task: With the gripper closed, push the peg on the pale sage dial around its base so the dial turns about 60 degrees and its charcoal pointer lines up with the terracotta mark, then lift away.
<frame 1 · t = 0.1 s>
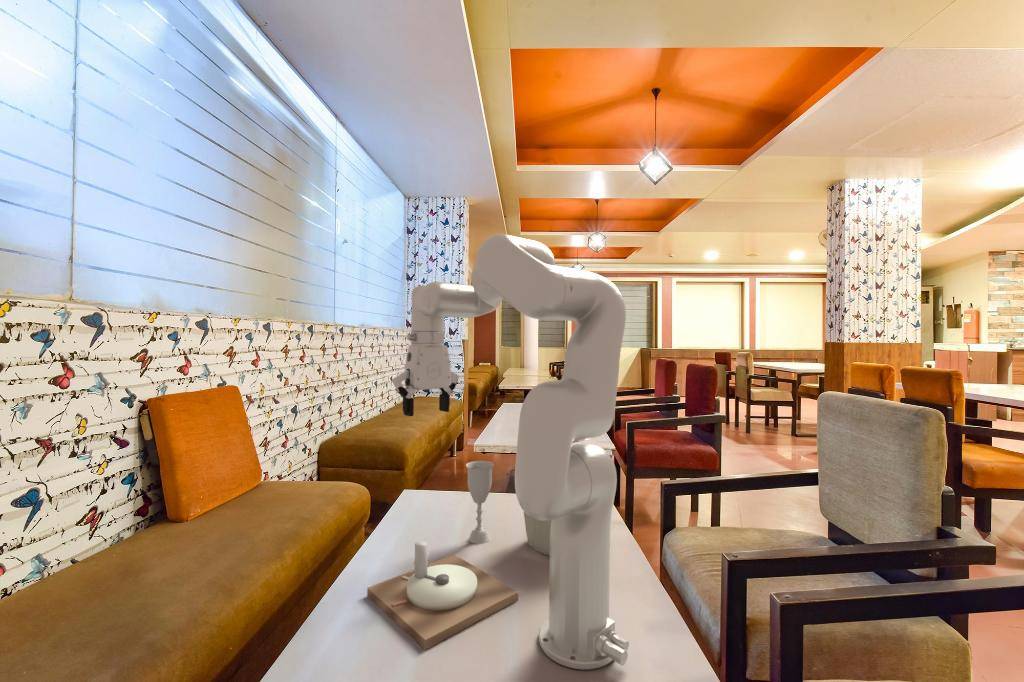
hand: (426, 413, 105), 31 cm above the table, tool pointing down, fingers open, 9 cm apart
dial: (442, 569, 85), point 5 cm above the table, hinge at 0.0°
chalice: (479, 539, 110), on the table
dial base: (442, 597, 85), on the table
canister: (555, 547, 107), on the table
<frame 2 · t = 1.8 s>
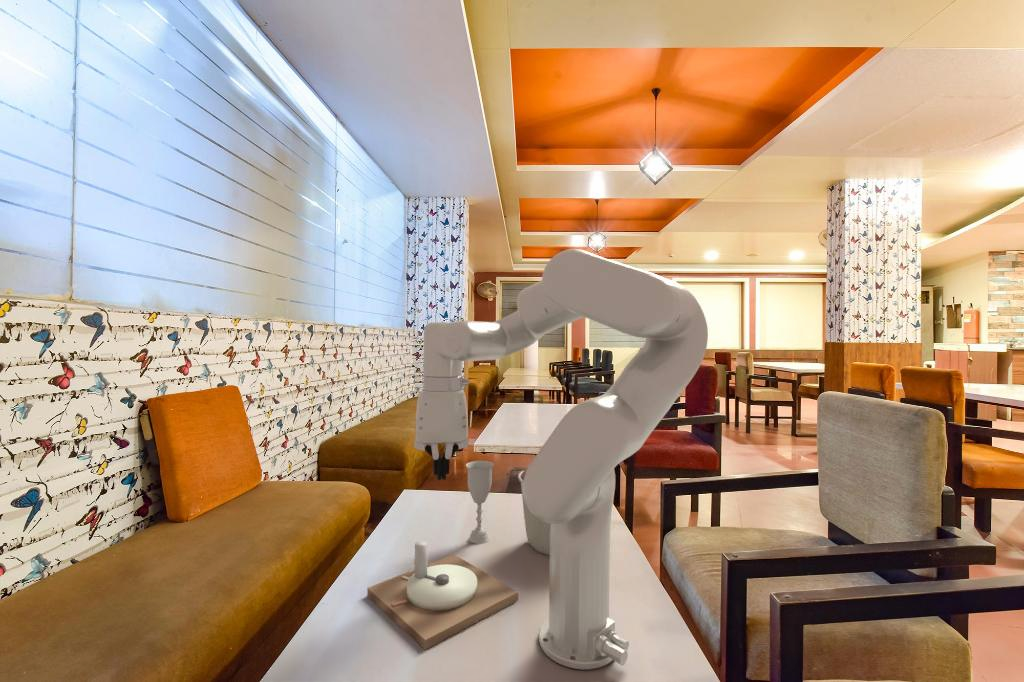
hand: (441, 477, 90), 21 cm above the table, tool pointing down, fingers closed
nothing on the table moved.
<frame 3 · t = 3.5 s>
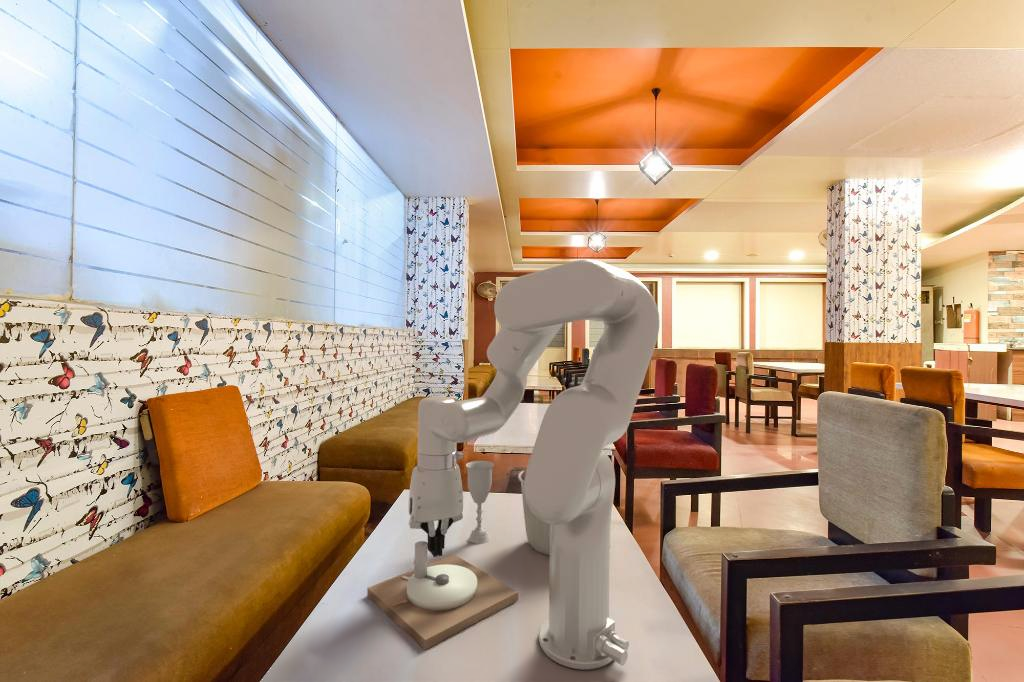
hand: (435, 553, 89), 6 cm above the table, tool pointing down, fingers closed
dial: (442, 569, 85), point 5 cm above the table, hinge at 0.3°, touching gripper
everything else where it was.
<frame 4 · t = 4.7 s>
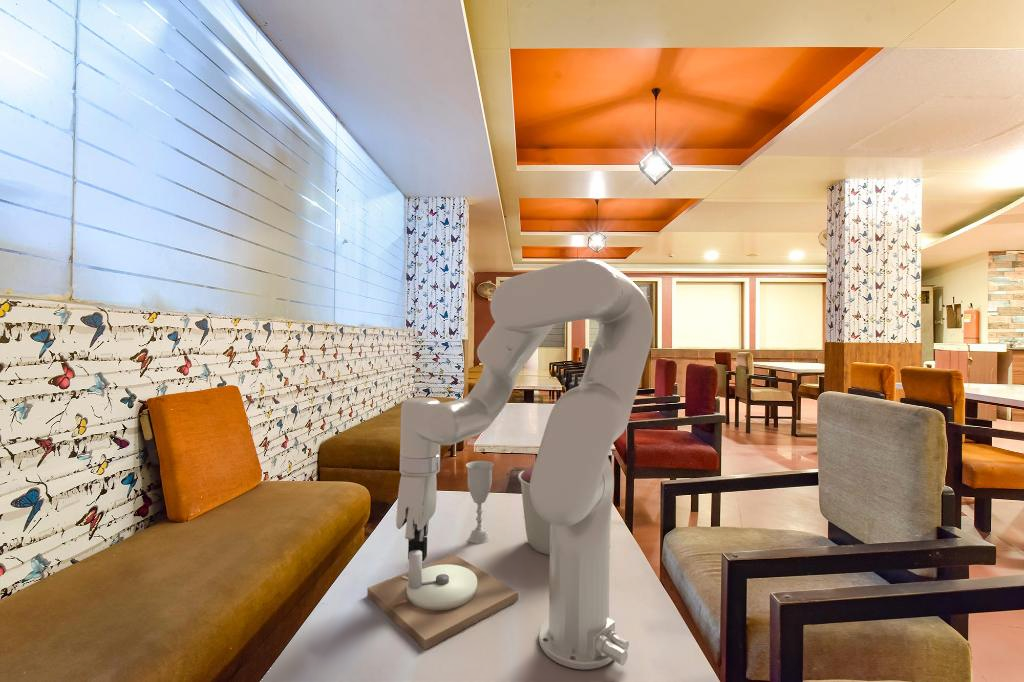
hand: (417, 558, 87), 6 cm above the table, tool pointing down, fingers closed
dial: (442, 569, 85), point 5 cm above the table, hinge at 44.0°, touching gripper
everything else where it was.
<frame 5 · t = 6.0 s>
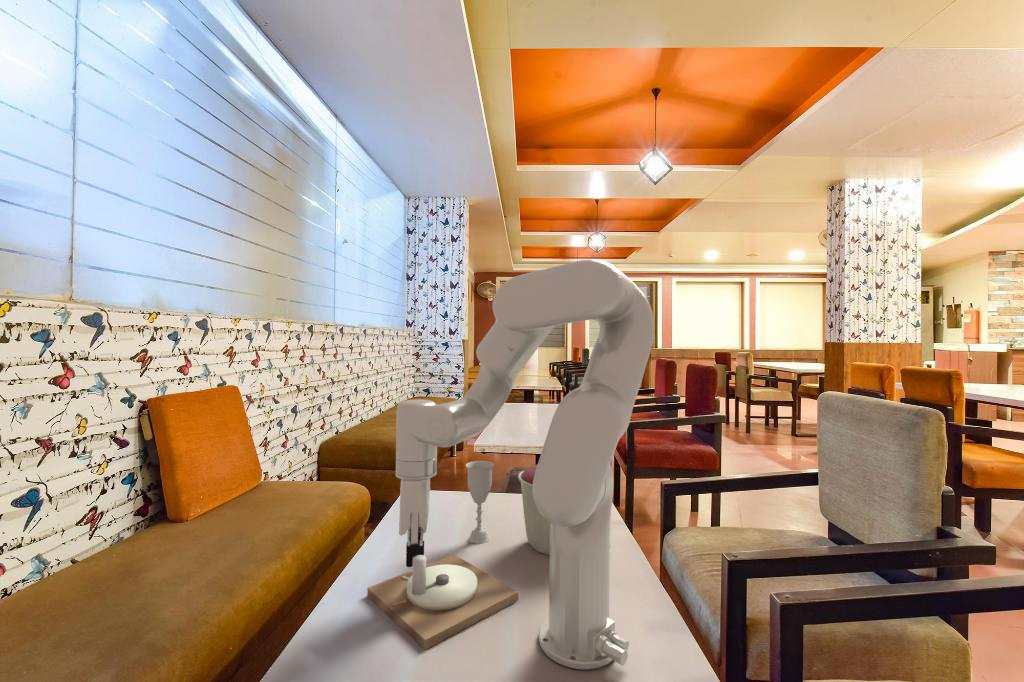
hand: (415, 564, 85), 6 cm above the table, tool pointing down, fingers closed
dial: (442, 569, 85), point 5 cm above the table, hinge at 69.7°
everything else where it was.
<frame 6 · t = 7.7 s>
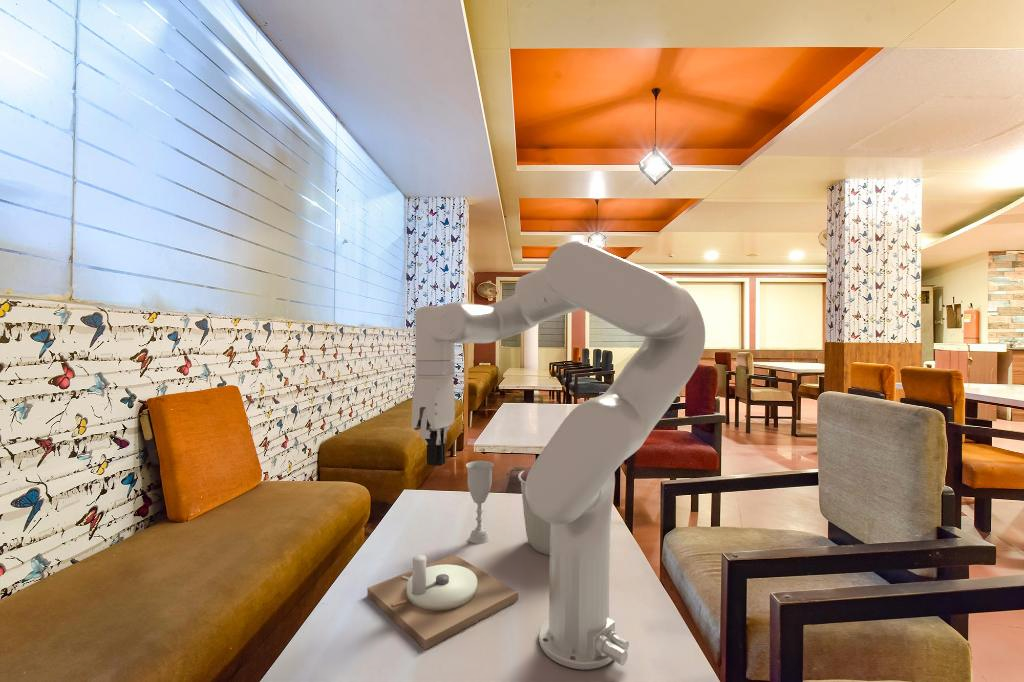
hand: (436, 464, 88), 24 cm above the table, tool pointing down, fingers closed
nothing on the table moved.
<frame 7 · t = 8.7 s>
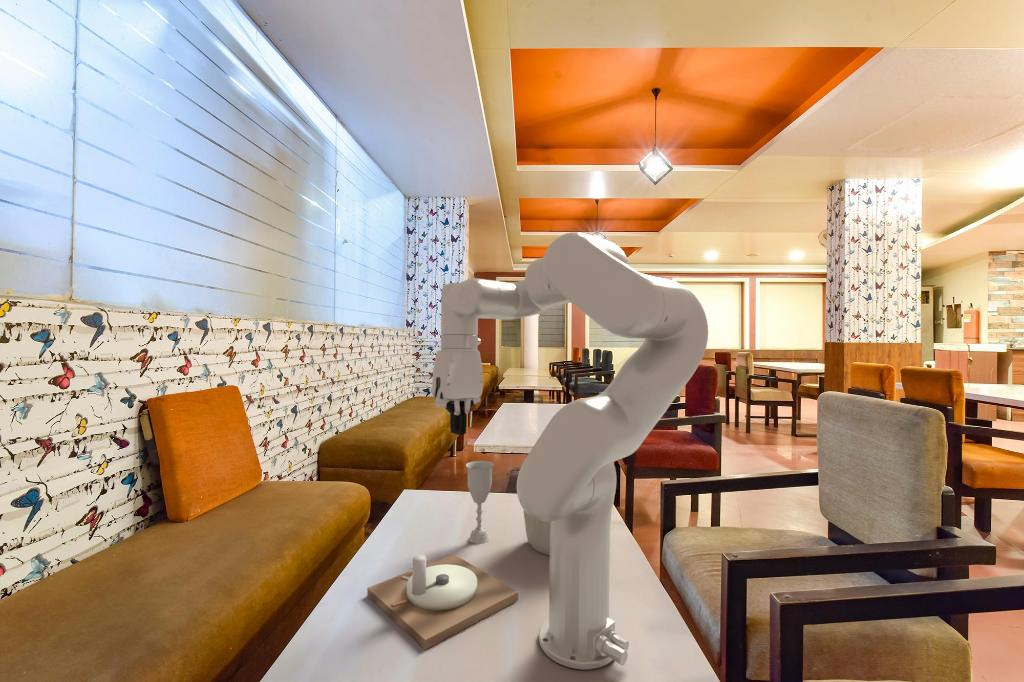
hand: (458, 433, 93), 29 cm above the table, tool pointing down, fingers closed
nothing on the table moved.
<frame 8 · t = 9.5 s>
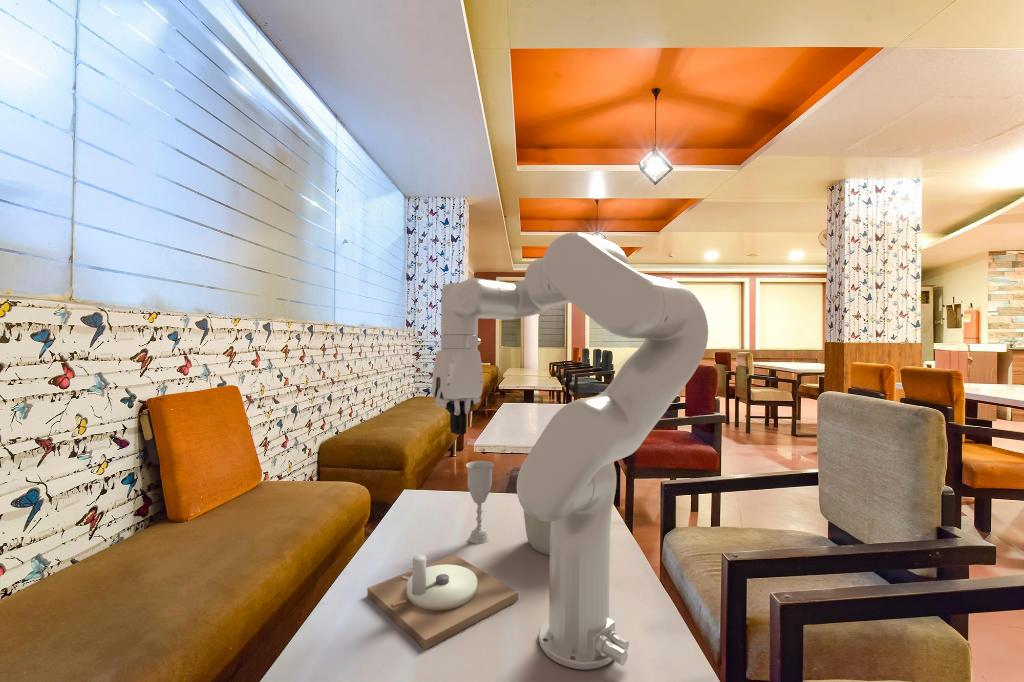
hand: (458, 433, 93), 29 cm above the table, tool pointing down, fingers closed
nothing on the table moved.
at the end: dial at +70° (first picture: +0°); chalice tilted 0° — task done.
